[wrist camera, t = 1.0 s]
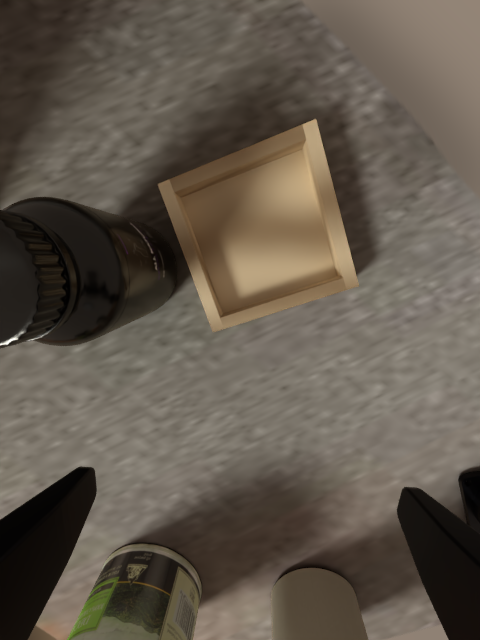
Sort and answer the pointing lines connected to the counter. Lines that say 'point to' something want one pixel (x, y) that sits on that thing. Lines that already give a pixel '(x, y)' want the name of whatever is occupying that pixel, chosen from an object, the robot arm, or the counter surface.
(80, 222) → the supplement bottle
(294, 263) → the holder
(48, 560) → the robot arm
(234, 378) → the counter surface
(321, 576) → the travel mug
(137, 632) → the coffee can
